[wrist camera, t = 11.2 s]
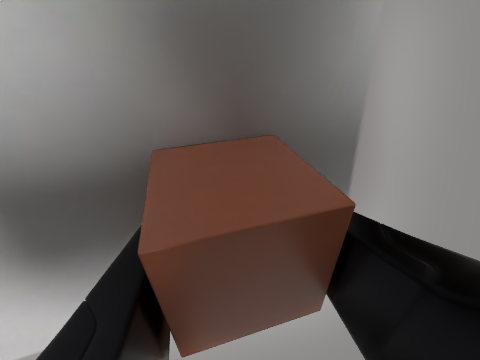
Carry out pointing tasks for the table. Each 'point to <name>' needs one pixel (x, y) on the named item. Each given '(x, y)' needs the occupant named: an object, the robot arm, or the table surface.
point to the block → (238, 238)
